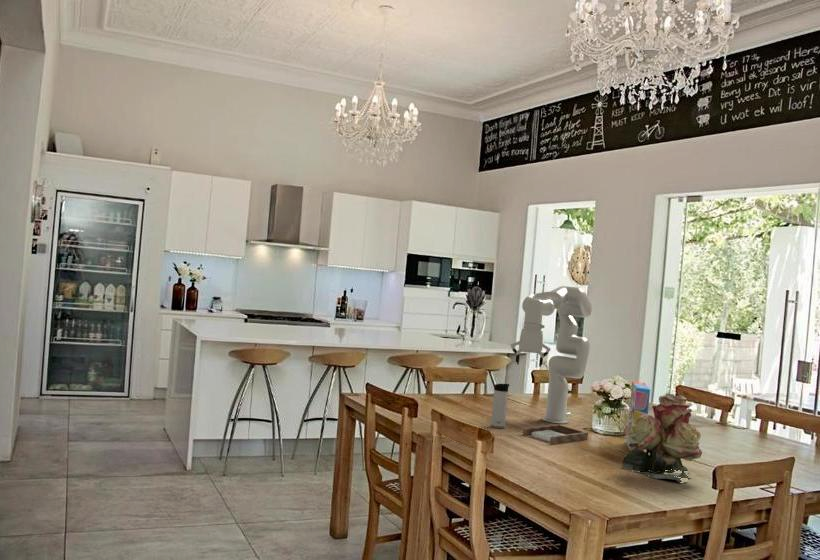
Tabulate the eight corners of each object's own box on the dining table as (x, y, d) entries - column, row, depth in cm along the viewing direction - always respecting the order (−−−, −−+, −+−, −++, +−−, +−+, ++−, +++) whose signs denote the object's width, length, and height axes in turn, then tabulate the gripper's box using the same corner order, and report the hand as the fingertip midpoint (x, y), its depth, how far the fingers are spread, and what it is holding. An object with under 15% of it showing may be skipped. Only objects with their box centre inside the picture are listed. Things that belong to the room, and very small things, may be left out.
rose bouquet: (612, 469, 278) (620, 389, 277) (650, 460, 298) (658, 385, 298) (678, 488, 260) (687, 403, 259) (713, 477, 280) (721, 398, 279)
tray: (557, 432, 335) (558, 424, 334) (587, 440, 322) (588, 432, 322) (522, 436, 319) (523, 428, 319) (552, 445, 307) (553, 437, 307)
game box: (643, 455, 306) (650, 389, 305) (630, 453, 307) (636, 387, 306) (638, 444, 326) (644, 382, 325) (625, 442, 327) (631, 381, 326)
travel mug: (500, 429, 329) (505, 384, 329) (488, 426, 333) (492, 382, 333) (507, 428, 334) (512, 383, 334) (495, 425, 338) (499, 381, 338)
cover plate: (549, 434, 326) (549, 429, 326) (567, 439, 318) (568, 435, 318) (531, 436, 318) (531, 432, 318) (549, 442, 310) (550, 437, 310)
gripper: (552, 328, 330) (548, 366, 330) (513, 324, 333) (509, 362, 333) (552, 329, 322) (548, 368, 323) (512, 325, 325) (508, 364, 326)
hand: (528, 365), depth 328 cm, fingers open, 9 cm apart
